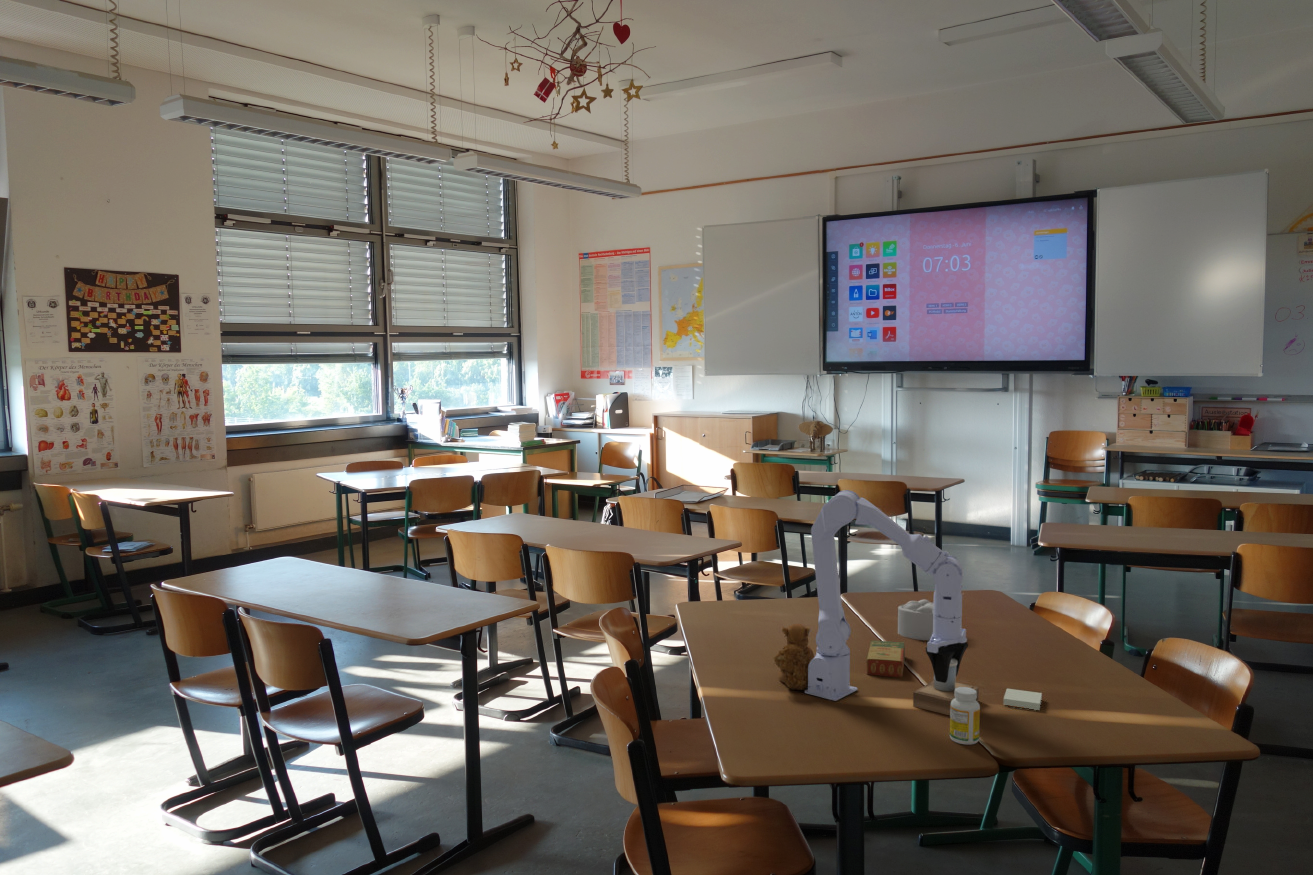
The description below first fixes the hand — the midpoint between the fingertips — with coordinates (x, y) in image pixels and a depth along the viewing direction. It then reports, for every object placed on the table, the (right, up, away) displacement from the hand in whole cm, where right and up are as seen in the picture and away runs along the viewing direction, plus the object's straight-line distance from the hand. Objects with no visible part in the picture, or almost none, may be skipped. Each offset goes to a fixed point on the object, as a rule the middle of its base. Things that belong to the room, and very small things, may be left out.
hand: (946, 678), depth 196 cm
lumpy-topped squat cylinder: (+10, -2, +52) cm, 53 cm away
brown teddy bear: (-29, -5, +13) cm, 33 cm away
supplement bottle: (-2, -7, -19) cm, 20 cm away
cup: (0, -2, +1) cm, 2 cm away
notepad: (+16, -6, +1) cm, 17 cm away
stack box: (0, -5, 0) cm, 5 cm away
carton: (-6, -4, +26) cm, 27 cm away
